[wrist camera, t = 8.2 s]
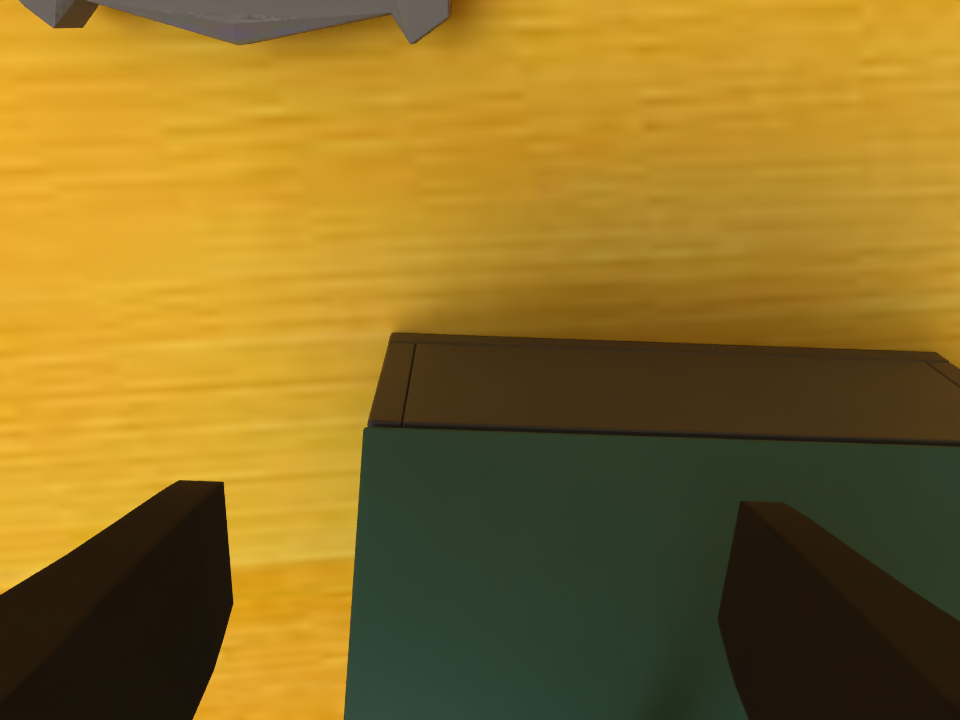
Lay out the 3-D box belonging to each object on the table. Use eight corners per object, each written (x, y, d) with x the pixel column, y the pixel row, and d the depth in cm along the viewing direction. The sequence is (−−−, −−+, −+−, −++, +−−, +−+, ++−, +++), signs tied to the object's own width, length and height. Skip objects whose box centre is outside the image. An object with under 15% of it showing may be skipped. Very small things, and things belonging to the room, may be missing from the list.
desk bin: (859, 636, 25) (951, 780, 20) (390, 622, 25) (370, 766, 20) (936, 351, 22) (1070, 444, 17) (390, 332, 21) (366, 420, 16)
